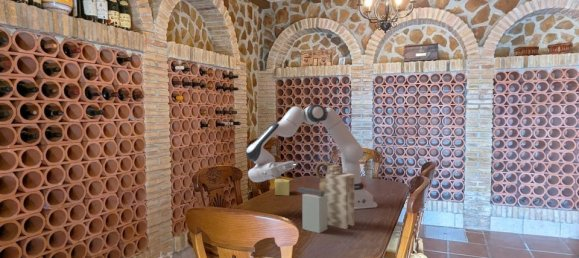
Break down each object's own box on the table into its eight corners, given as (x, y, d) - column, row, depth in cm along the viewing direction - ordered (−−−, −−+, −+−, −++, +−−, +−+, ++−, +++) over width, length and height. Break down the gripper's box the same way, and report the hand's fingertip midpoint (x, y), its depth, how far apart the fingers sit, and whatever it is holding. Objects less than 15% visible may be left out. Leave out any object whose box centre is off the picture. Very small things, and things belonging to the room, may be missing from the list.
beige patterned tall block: (325, 224, 183) (325, 166, 182) (334, 220, 189) (334, 164, 188) (346, 229, 176) (346, 168, 174) (354, 225, 182) (354, 166, 180)
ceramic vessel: (329, 205, 220) (330, 164, 219) (310, 199, 236) (310, 161, 234) (350, 200, 231) (351, 162, 230) (330, 195, 246) (330, 159, 245)
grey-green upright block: (302, 228, 176) (302, 194, 176) (310, 225, 182) (310, 191, 181) (319, 233, 170) (319, 197, 169) (327, 229, 176) (327, 194, 175)
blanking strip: (297, 192, 180) (297, 188, 180) (301, 191, 182) (301, 187, 182) (320, 196, 171) (320, 192, 171) (324, 195, 173) (324, 190, 173)
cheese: (289, 192, 256) (289, 178, 256) (289, 195, 246) (289, 181, 245) (274, 192, 256) (274, 178, 256) (274, 196, 245) (274, 181, 245)
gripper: (257, 168, 186) (277, 163, 178) (281, 161, 203) (300, 156, 194) (261, 180, 186) (280, 175, 178) (284, 172, 202) (303, 167, 194)
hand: (291, 165), depth 186 cm, fingers open, 8 cm apart
